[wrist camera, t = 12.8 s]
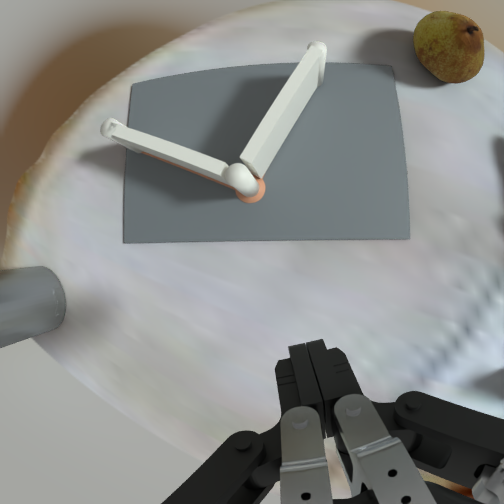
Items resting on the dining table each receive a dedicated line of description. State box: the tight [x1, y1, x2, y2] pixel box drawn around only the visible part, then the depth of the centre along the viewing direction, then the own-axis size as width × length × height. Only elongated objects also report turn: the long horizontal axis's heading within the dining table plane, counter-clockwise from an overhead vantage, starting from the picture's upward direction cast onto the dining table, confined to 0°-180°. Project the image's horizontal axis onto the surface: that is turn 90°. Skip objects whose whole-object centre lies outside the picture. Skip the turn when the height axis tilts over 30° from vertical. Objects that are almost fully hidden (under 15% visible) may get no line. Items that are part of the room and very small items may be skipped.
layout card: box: [124, 63, 410, 243], centre depth 34 cm, size 32×20×1 cm, turn 91°
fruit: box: [413, 11, 484, 83], centre depth 24 cm, size 9×9×12 cm
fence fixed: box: [100, 118, 260, 197], centre depth 31 cm, size 16×2×8 cm, turn 66°
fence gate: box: [240, 41, 327, 179], centre depth 29 cm, size 14×2×7 cm, turn 150°
